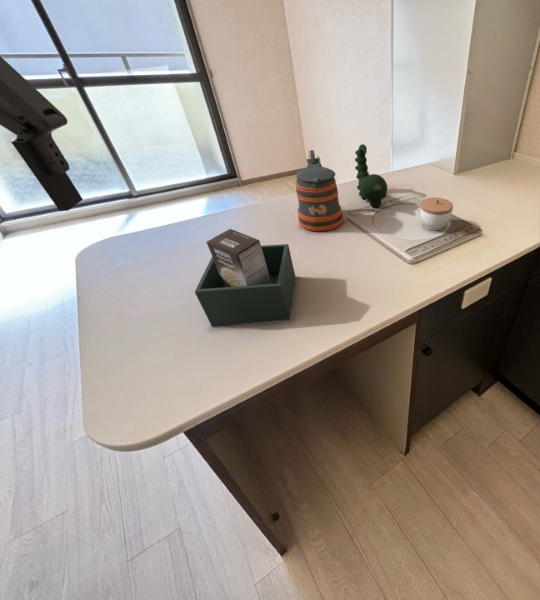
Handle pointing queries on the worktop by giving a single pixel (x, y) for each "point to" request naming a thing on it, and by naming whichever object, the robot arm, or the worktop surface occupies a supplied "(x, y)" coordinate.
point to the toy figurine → (369, 180)
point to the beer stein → (318, 197)
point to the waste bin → (250, 292)
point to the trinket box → (435, 212)
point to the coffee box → (239, 259)
